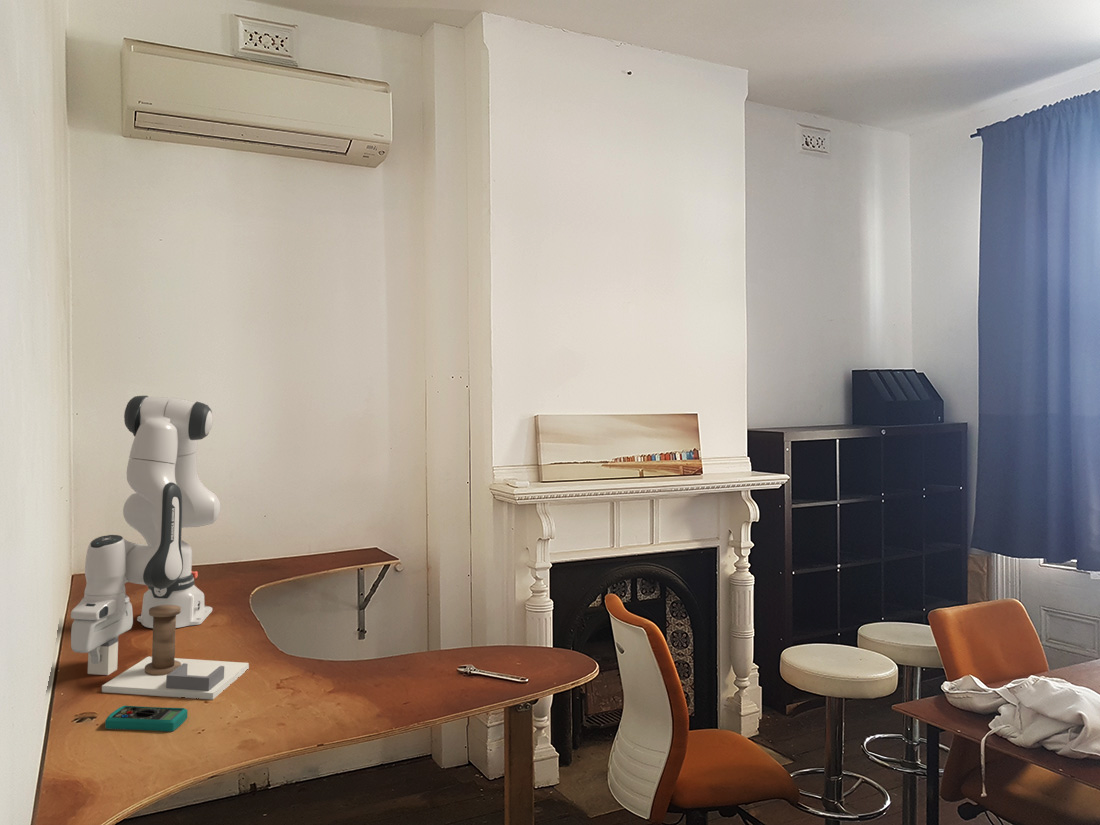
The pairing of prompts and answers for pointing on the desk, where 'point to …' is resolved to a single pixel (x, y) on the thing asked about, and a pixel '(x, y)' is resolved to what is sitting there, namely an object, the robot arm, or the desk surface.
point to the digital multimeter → (146, 718)
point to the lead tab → (105, 658)
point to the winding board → (178, 679)
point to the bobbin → (163, 640)
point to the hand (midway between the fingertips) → (103, 658)
